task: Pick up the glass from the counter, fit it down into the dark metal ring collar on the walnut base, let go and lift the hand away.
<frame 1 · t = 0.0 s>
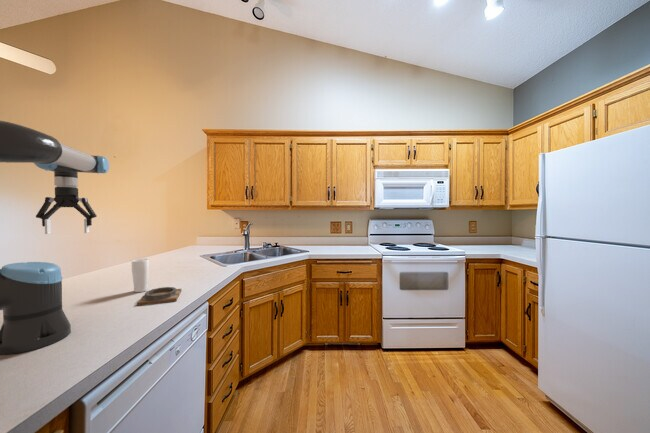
hand: (68, 233, 116), 28 cm above the counter, tool pointing down, fingers open, 13 cm apart
drinking glass: (141, 291, 121), on the counter
ring holder: (161, 297, 112), on the counter
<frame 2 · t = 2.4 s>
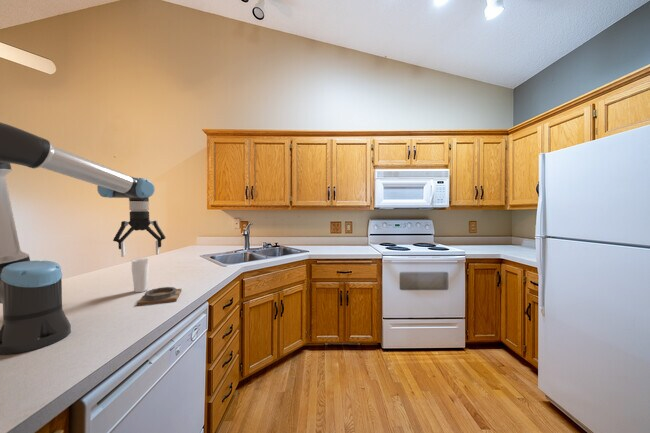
hand: (140, 255, 121), 17 cm above the counter, tool pointing down, fingers open, 13 cm apart
nothing on the counter moved.
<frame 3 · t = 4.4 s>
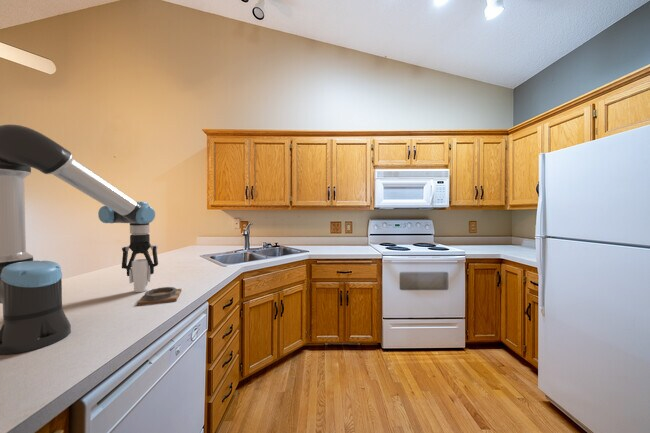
hand: (140, 281, 121), 5 cm above the counter, tool pointing down, fingers closed on drinking glass, 7 cm apart
drinking glass: (141, 291, 121), on the counter, touching gripper
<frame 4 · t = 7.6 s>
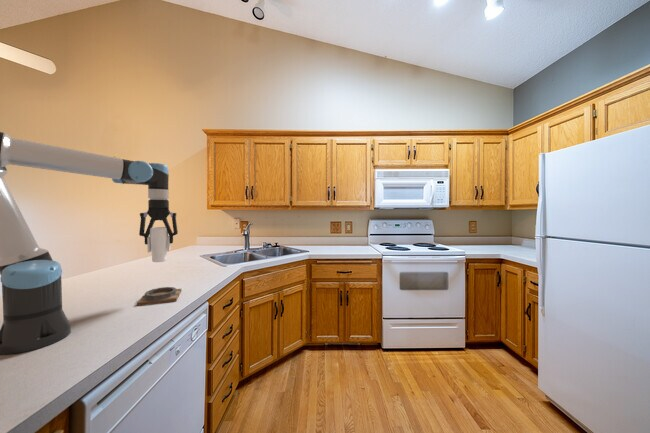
hand: (159, 251, 112), 21 cm above the counter, tool pointing down, fingers closed on drinking glass, 7 cm apart
drinking glass: (159, 261, 112), point 16 cm above the counter, touching gripper
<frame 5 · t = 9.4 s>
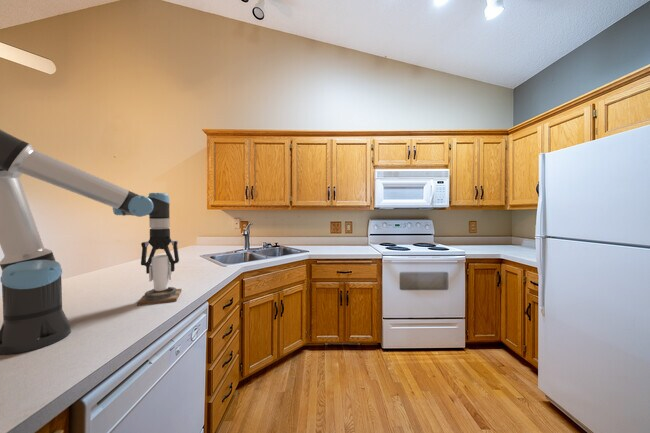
hand: (161, 279, 112), 8 cm above the counter, tool pointing down, fingers closed on drinking glass, 7 cm apart
drinking glass: (161, 290, 112), point 3 cm above the counter, touching gripper
when the fingers open (6 cm above the counter, at t = 10.8 s): drinking glass stays where it is, resting on ring holder.
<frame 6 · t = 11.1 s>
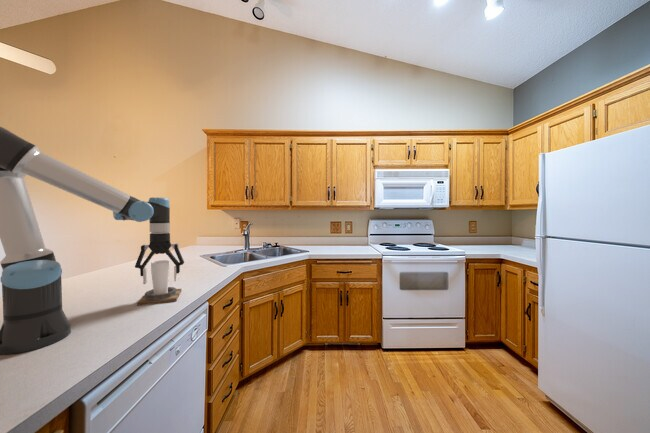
hand: (160, 281, 112), 7 cm above the counter, tool pointing down, fingers open, 11 cm apart
drinking glass: (160, 295, 112), point 1 cm above the counter, touching ring holder
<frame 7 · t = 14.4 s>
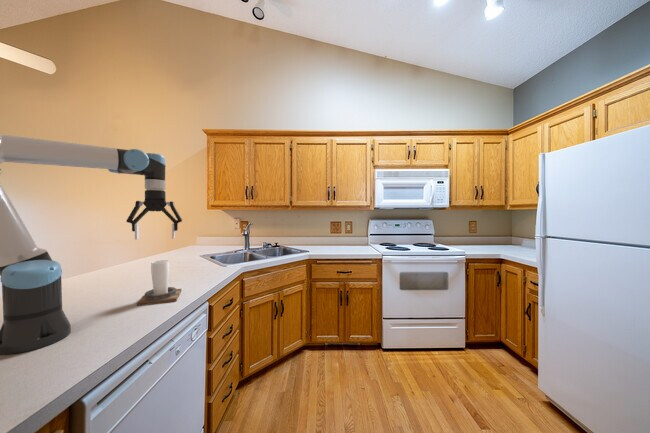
hand: (155, 238, 110), 27 cm above the counter, tool pointing down, fingers open, 13 cm apart
nothing on the counter moved.
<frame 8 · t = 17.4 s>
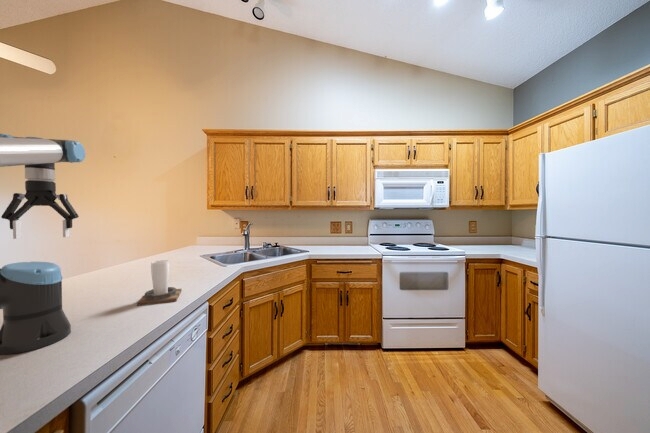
hand: (42, 237, 95), 29 cm above the counter, tool pointing down, fingers open, 13 cm apart
nothing on the counter moved.
at the end: drinking glass 0.1 cm off-centre on the ring holder, point 1.0 cm above the ring holder's base; drinking glass tilted 0°; the gripper is holding nothing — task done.
